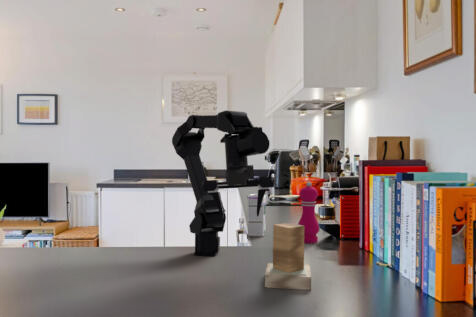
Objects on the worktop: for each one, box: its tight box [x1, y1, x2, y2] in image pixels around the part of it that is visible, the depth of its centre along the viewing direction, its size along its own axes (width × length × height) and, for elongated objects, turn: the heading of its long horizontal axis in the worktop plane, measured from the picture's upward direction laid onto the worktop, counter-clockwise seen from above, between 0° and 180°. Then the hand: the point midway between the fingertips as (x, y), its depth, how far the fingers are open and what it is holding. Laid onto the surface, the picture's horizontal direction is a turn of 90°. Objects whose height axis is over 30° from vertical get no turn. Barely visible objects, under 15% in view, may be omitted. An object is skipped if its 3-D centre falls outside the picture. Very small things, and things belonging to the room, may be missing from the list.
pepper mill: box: [297, 181, 320, 244], centre depth 140 cm, size 7×7×20 cm
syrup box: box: [247, 193, 267, 237], centre depth 150 cm, size 6×6×14 cm
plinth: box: [264, 262, 312, 291], centre depth 96 cm, size 10×10×3 cm
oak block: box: [272, 222, 305, 273], centre depth 96 cm, size 5×5×10 cm
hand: (240, 217), depth 110 cm, fingers open, 9 cm apart
